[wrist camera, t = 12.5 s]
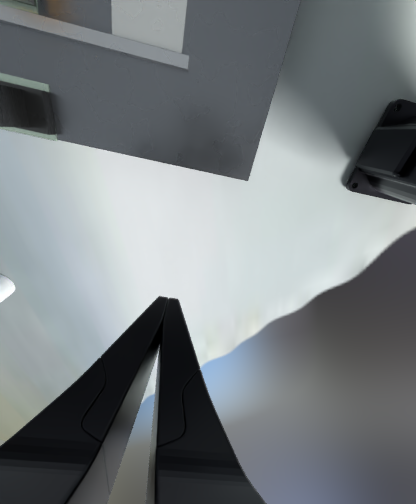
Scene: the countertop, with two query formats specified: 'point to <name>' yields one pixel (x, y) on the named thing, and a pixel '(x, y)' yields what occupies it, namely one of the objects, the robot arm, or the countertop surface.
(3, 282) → the white stepped cylinder
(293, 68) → the countertop surface
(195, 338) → the countertop surface
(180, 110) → the breaker panel
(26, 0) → the block
